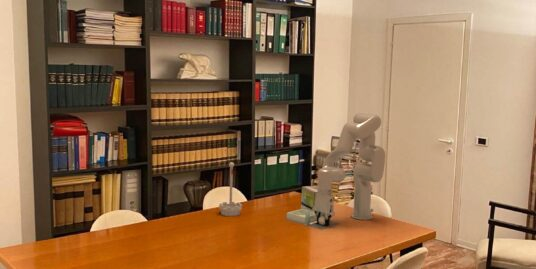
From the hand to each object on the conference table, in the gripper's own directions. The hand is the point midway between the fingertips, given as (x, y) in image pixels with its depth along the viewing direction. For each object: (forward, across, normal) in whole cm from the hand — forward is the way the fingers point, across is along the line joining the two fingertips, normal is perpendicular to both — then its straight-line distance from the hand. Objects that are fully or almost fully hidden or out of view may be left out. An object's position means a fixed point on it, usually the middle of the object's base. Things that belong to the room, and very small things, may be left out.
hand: (323, 224), depth 282 cm
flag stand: (+1, +51, +21) cm, 55 cm away
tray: (0, +14, -1) cm, 15 cm away
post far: (+1, +6, -8) cm, 10 cm away
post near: (+1, +6, +6) cm, 9 cm away
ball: (0, 0, 0) cm, 0 cm away
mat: (+1, +8, -1) cm, 9 cm away
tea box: (+1, +19, -16) cm, 25 cm away
